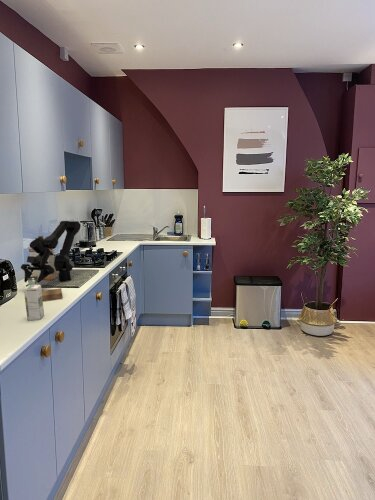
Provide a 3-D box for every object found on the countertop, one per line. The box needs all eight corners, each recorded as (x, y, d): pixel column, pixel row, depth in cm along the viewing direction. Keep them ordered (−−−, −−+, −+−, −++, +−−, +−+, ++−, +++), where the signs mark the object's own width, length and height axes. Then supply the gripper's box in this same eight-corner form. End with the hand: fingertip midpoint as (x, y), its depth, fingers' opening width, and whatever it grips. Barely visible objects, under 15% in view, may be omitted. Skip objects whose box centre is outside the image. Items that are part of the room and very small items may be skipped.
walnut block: (61, 293, 204) (61, 288, 204) (62, 298, 195) (61, 293, 195) (42, 296, 201) (41, 290, 201) (41, 301, 192) (41, 296, 191)
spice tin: (39, 291, 211) (37, 275, 209) (39, 294, 206) (37, 278, 204) (29, 292, 209) (27, 277, 207) (29, 295, 204) (27, 279, 202)
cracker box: (57, 277, 239) (53, 245, 235) (50, 280, 233) (46, 247, 230) (39, 277, 244) (34, 245, 240) (32, 279, 238) (28, 246, 234)
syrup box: (31, 316, 172) (27, 285, 169) (44, 315, 172) (40, 284, 169) (27, 320, 166) (22, 288, 163) (41, 319, 166) (36, 287, 164)
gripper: (20, 249, 210) (8, 274, 201) (48, 250, 204) (36, 275, 195) (32, 260, 218) (20, 284, 210) (59, 261, 212) (48, 285, 204)
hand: (31, 282), depth 205 cm, fingers open, 8 cm apart
